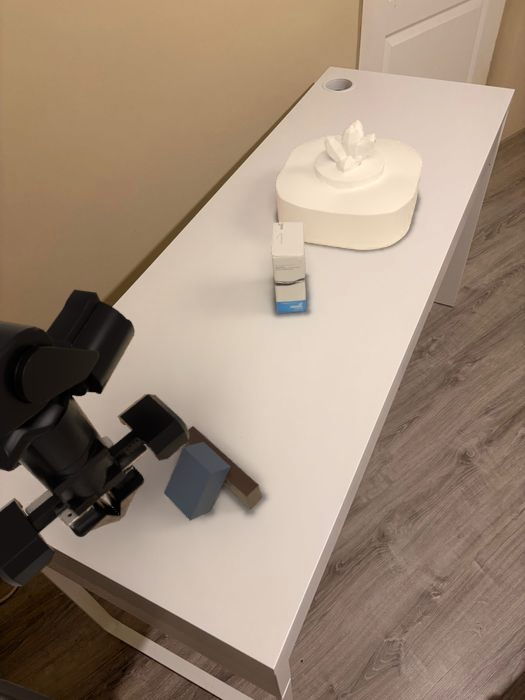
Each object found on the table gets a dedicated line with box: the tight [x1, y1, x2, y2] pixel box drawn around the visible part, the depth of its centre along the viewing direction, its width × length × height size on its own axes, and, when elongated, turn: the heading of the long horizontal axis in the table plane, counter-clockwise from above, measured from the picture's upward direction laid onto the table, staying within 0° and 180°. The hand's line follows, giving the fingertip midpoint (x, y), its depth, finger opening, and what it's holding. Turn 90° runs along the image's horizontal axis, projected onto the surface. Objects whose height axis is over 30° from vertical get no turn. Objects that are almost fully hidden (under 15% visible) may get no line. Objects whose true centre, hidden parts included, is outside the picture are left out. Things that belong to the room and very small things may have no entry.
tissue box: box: [275, 118, 424, 251], centre depth 90 cm, size 25×25×16 cm
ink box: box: [270, 221, 307, 314], centre depth 78 cm, size 8×5×12 cm, turn 179°
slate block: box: [163, 442, 231, 521], centre depth 59 cm, size 7×5×8 cm
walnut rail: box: [184, 425, 262, 511], centre depth 62 cm, size 2×12×4 cm, turn 46°
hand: (119, 515), depth 50 cm, fingers closed
